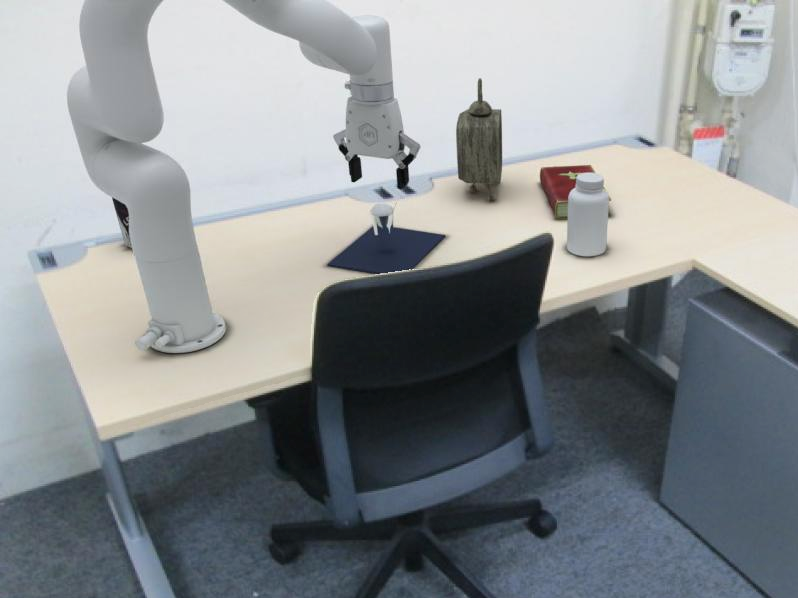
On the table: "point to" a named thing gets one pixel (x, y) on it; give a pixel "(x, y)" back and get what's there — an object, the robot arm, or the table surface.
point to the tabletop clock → (479, 144)
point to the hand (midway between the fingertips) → (379, 183)
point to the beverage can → (123, 220)
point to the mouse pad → (403, 257)
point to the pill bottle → (587, 216)
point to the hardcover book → (561, 186)
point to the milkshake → (383, 226)
